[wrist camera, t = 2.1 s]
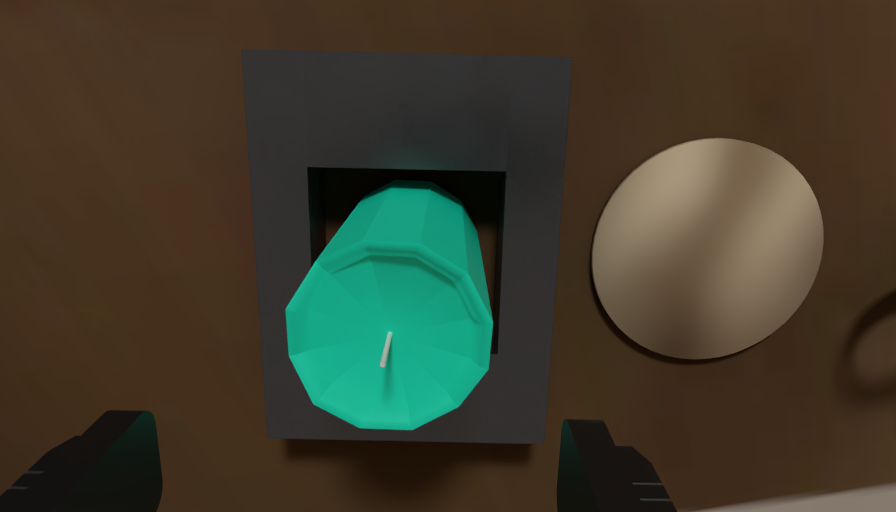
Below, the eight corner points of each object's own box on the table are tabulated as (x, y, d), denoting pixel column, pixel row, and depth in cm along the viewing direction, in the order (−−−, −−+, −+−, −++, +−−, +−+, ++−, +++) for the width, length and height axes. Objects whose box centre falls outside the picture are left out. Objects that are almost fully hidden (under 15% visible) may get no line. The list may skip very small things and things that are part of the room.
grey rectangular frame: (558, 59, 25) (572, 57, 22) (534, 408, 30) (544, 443, 27) (265, 53, 25) (241, 49, 22) (285, 403, 30) (267, 438, 27)
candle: (463, 165, 27) (473, 231, 15) (489, 294, 28) (517, 443, 17) (328, 193, 27) (236, 279, 15) (362, 319, 28) (301, 482, 17)
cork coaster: (836, 140, 26) (844, 141, 26) (795, 357, 29) (801, 361, 28) (601, 135, 26) (603, 136, 26) (581, 352, 29) (583, 356, 28)
